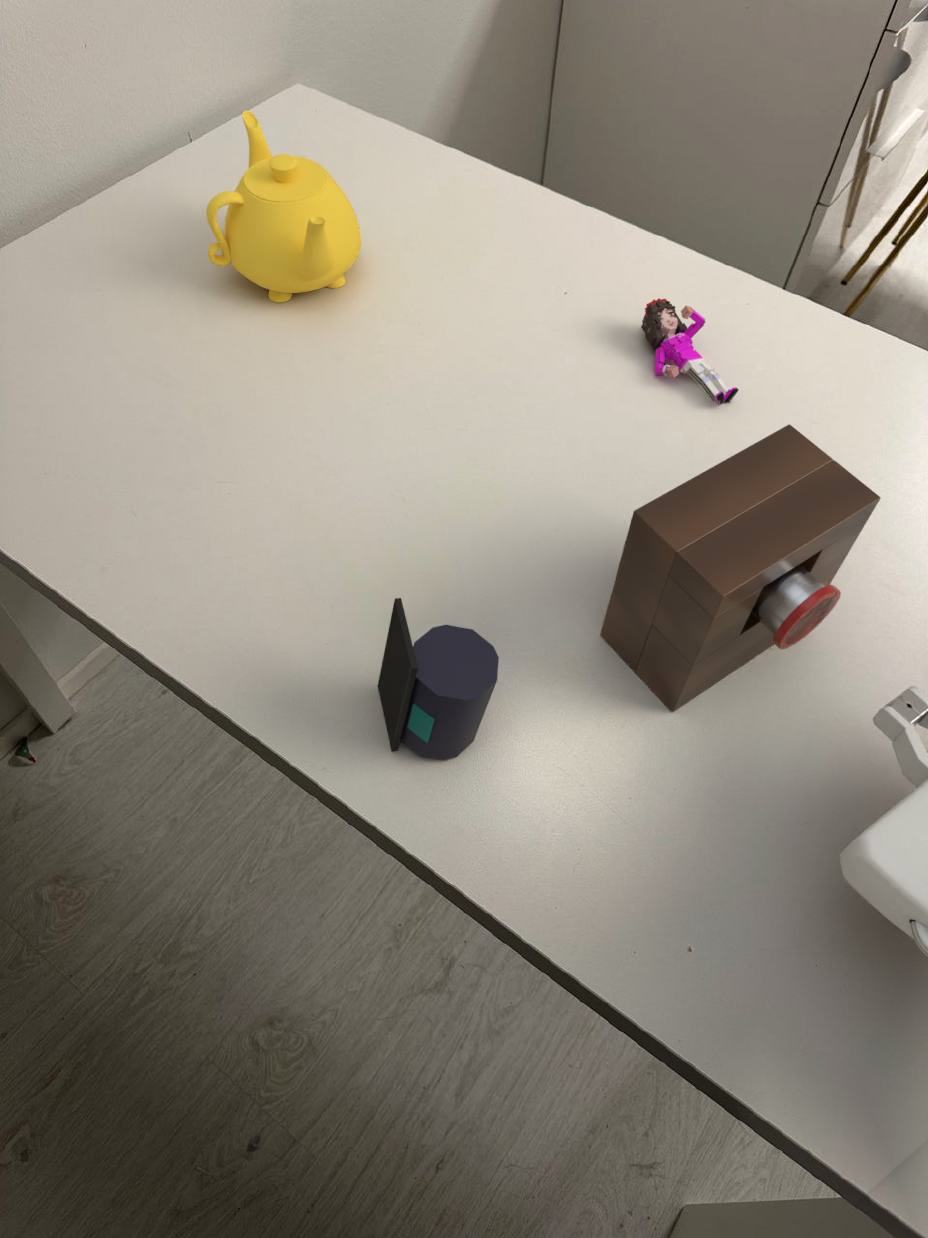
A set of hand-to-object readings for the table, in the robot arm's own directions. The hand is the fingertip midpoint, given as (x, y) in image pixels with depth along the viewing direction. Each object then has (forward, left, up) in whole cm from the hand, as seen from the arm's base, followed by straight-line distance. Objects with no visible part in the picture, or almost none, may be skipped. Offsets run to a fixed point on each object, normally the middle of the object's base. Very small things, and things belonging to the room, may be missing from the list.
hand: (891, 702), depth 57 cm
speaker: (+25, +13, -9) cm, 29 cm away
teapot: (+66, -19, -9) cm, 69 cm away
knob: (+8, -3, -3) cm, 9 cm away
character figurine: (+28, -30, -9) cm, 42 cm away
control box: (+13, -5, -9) cm, 16 cm away
